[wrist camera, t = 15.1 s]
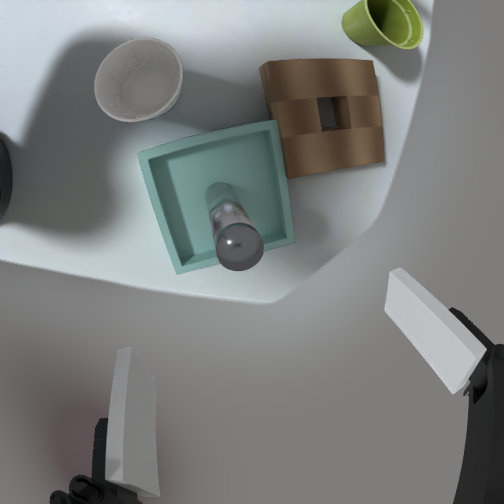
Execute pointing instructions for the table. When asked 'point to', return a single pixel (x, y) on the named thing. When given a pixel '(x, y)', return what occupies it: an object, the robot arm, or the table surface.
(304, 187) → the table surface
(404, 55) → the table surface
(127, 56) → the white cup
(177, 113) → the table surface
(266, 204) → the tray
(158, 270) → the table surface
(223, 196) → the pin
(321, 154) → the socket block
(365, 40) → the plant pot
